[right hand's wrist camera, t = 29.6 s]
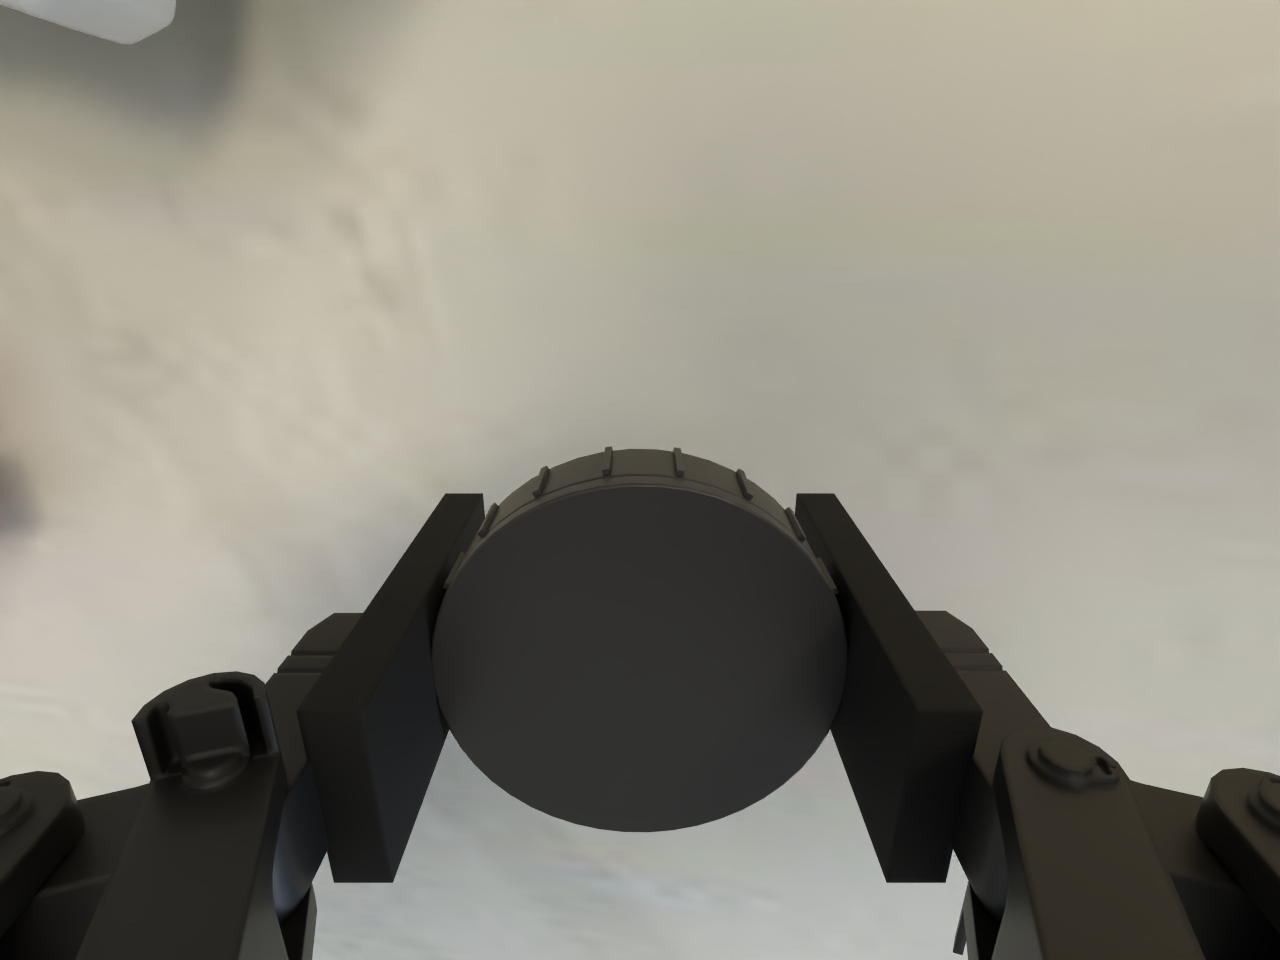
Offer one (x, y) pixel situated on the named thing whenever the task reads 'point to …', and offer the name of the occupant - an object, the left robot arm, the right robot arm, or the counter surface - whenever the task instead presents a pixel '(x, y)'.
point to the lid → (639, 643)
